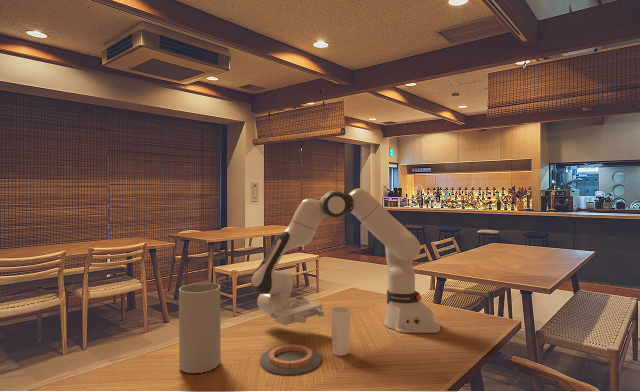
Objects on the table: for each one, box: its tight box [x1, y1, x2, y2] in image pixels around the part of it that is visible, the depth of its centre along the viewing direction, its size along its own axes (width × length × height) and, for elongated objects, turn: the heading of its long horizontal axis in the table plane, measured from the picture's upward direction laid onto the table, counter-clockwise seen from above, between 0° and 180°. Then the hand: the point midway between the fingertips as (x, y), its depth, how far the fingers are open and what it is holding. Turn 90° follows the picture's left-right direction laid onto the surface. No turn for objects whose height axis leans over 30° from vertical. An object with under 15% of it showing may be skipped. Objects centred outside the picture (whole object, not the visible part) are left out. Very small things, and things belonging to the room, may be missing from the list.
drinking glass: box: [329, 306, 351, 357], centre depth 127 cm, size 7×7×15 cm
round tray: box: [259, 344, 322, 376], centre depth 122 cm, size 20×20×2 cm
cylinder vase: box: [178, 282, 222, 374], centre depth 118 cm, size 12×12×25 cm
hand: (313, 317), depth 136 cm, fingers open, 8 cm apart
